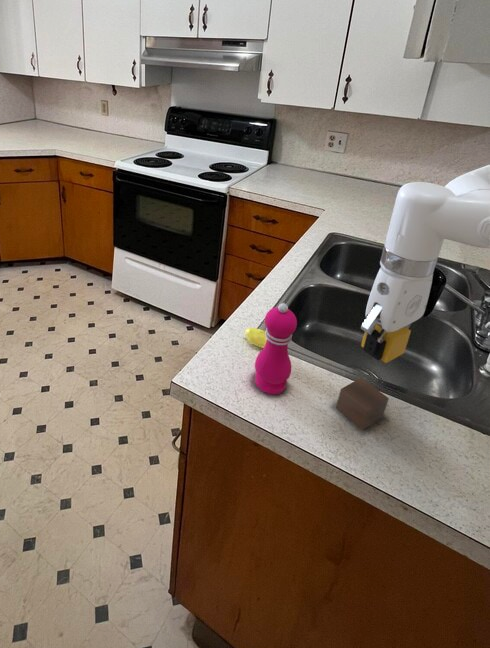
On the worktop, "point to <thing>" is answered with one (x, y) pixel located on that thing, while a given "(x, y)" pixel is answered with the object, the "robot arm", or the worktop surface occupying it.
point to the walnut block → (362, 403)
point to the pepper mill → (275, 350)
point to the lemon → (256, 336)
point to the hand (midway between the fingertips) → (382, 348)
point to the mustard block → (392, 343)
